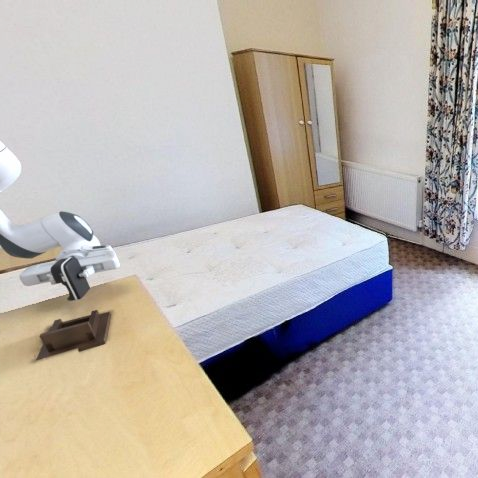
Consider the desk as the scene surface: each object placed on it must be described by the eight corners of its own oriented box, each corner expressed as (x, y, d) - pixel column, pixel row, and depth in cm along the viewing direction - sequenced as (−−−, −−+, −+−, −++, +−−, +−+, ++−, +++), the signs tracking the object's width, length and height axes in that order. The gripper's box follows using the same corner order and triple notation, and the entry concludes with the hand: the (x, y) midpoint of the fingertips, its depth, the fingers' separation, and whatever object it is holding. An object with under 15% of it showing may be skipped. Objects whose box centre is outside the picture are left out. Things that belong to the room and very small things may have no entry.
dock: (38, 363, 77) (26, 343, 74) (52, 330, 88) (42, 311, 85) (105, 343, 84) (96, 324, 81) (111, 314, 95) (103, 297, 92)
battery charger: (74, 290, 96) (58, 256, 91) (91, 288, 97) (76, 254, 92) (62, 303, 90) (45, 267, 85) (81, 300, 91) (64, 265, 87)
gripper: (22, 259, 93) (7, 279, 83) (116, 244, 105) (113, 260, 95) (32, 278, 96) (18, 300, 86) (123, 261, 107) (120, 278, 97)
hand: (69, 279), depth 90 cm, fingers closed on battery charger, 4 cm apart
